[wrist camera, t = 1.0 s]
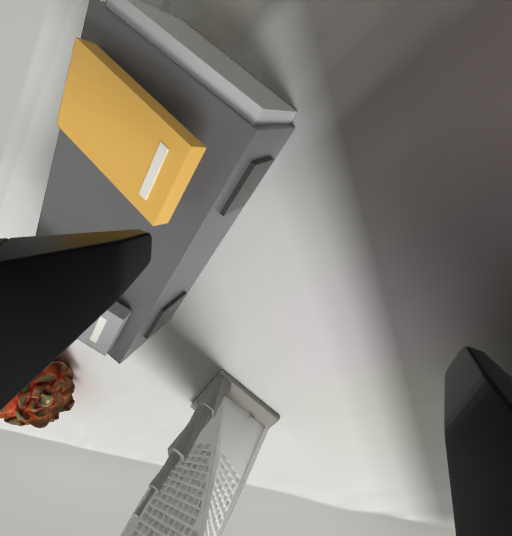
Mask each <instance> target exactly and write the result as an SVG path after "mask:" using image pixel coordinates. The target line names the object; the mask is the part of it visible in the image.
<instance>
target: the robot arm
mask: <svg viewBox="0 0 512 536" xmlns="http://www.w3.org/2000/svg"><path fill="white" fill-rule="evenodd" d="M151 254H152V236H151V234H150V233H149V232H146V231H143V230H140V229H130V230H116V231H102V232H88V233H74V234H60V235H46V236H32V237H18V238H10V239H7V238H3V239H0V411H1V410H2V409H3V408H4V407H5V406H6V405H7V404H8V403H9V402H10V401H11V400H12V399H13V398H14V397H15V396H17V395H18V394H19V393H20V392H21V391H22V390H23V389H24V388H25V387H26V386H27V385H28V384H29V383H30V382H31V381H32V380H34V379H35V378H36V377H37V376H38V375H39V374H40V373H41V372H42V371H43V370H44V369H45V368H46V367H47V366H48V365H49V364H51V363H52V362H53V361H54V360H55V359H56V358H57V357H58V356H59V355H60V354H61V353H62V352H63V351H64V350H65V349H66V348H68V347H69V346H70V345H71V344H72V343H73V342H74V341H75V340H76V339H77V338H78V337H79V336H80V335H81V334H82V333H84V332H85V331H86V330H87V329H88V328H89V327H90V326H91V325H92V324H93V323H94V322H95V321H96V320H97V319H98V318H99V317H101V316H102V315H103V314H104V313H105V312H106V311H107V310H108V309H109V308H110V307H111V306H112V305H113V304H114V303H115V302H116V301H117V300H118V299H119V298H120V297H121V296H122V295H123V294H124V293H125V292H126V291H127V289H128V288H129V287H130V286H131V285H132V283H133V282H134V281H135V280H136V279H137V278H138V276H139V275H140V274H141V273H142V272H143V271H144V269H145V268H146V267H147V266H148V265H149V263H150V261H151ZM444 432H445V443H446V452H447V460H448V469H449V478H450V486H451V495H452V504H453V513H454V521H455V530H456V536H512V377H511V376H509V375H508V374H507V373H506V372H505V371H504V370H503V369H502V368H501V367H500V366H498V365H497V364H496V363H495V362H494V361H493V360H492V359H491V358H490V357H489V356H487V355H486V354H485V353H484V352H482V351H480V350H477V349H474V348H471V347H468V346H466V347H463V348H462V349H461V350H460V351H459V353H458V354H457V355H456V357H455V358H454V360H453V361H452V363H451V364H450V365H449V367H448V368H447V370H446V373H445V398H444Z"/></svg>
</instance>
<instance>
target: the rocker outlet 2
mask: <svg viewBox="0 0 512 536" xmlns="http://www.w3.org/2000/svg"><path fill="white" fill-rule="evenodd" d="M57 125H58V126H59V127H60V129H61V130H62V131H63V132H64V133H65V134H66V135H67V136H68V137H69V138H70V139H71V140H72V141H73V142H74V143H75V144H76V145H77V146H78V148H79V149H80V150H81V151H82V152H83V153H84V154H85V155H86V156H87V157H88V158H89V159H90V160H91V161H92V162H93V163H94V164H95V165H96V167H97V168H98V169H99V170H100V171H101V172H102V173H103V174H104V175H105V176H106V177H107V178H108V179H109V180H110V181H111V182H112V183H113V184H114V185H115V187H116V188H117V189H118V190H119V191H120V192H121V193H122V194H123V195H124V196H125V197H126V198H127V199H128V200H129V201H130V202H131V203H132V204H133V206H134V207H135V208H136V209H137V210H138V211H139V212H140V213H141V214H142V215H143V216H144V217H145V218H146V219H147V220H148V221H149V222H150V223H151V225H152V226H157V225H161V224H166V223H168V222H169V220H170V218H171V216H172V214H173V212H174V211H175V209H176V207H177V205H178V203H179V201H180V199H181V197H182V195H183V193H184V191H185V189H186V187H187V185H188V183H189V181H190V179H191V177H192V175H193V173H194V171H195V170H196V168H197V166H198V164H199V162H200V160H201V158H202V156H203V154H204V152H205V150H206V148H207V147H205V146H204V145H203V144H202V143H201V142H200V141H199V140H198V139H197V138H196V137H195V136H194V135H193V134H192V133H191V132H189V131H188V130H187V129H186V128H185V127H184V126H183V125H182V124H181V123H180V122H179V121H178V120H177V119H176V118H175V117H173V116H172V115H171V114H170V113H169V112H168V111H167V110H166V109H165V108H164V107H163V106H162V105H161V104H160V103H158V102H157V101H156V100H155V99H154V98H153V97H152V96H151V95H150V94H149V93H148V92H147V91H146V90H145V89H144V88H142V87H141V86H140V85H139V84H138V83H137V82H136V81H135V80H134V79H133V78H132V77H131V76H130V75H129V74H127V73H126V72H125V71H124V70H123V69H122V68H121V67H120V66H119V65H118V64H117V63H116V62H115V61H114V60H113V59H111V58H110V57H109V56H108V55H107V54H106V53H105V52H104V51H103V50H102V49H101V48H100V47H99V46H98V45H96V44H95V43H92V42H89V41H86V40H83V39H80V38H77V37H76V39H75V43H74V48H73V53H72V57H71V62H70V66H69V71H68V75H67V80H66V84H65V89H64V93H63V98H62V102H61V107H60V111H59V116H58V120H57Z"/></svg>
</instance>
